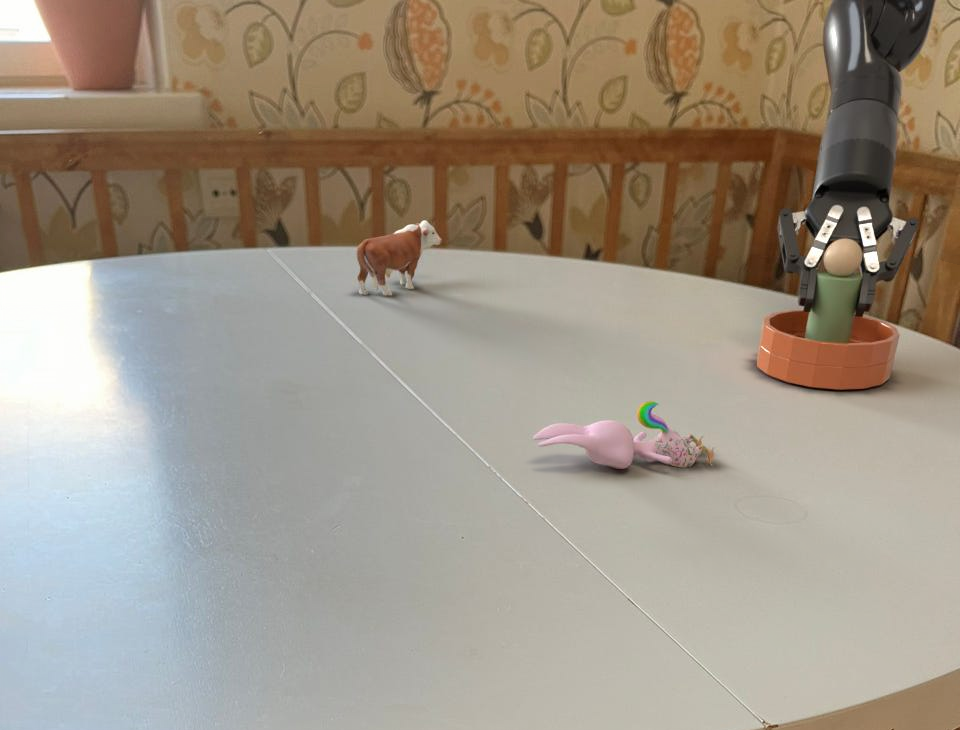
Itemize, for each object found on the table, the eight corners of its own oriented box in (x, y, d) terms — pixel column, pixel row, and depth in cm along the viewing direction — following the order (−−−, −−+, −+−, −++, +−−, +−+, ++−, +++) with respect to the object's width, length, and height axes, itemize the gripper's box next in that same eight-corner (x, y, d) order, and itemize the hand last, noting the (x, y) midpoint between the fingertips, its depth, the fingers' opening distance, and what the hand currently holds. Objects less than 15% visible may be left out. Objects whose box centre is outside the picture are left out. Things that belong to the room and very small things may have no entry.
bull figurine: (446, 286, 138) (446, 220, 134) (370, 303, 130) (368, 234, 125) (423, 280, 141) (422, 215, 136) (347, 296, 132) (344, 228, 128)
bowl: (850, 354, 115) (859, 308, 113) (912, 392, 104) (924, 342, 102) (736, 357, 113) (744, 310, 111) (787, 397, 102) (797, 346, 100)
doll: (833, 348, 110) (856, 234, 104) (853, 360, 106) (878, 243, 100) (794, 349, 109) (815, 234, 103) (813, 362, 105) (835, 243, 99)
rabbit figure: (684, 463, 91) (521, 447, 86) (704, 396, 88) (535, 376, 83) (714, 492, 85) (541, 476, 81) (736, 422, 83) (558, 402, 78)
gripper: (788, 131, 105) (763, 282, 101) (938, 139, 102) (918, 295, 98) (780, 181, 112) (757, 323, 108) (920, 190, 109) (901, 337, 105)
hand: (834, 309), depth 103 cm, fingers closed on doll, 4 cm apart
